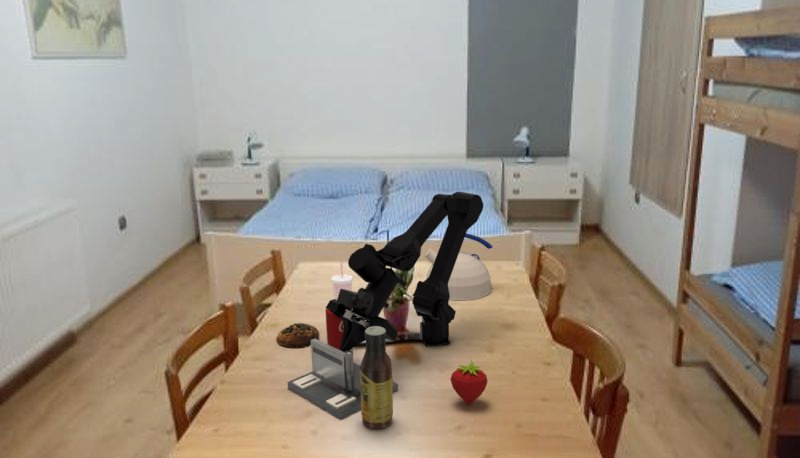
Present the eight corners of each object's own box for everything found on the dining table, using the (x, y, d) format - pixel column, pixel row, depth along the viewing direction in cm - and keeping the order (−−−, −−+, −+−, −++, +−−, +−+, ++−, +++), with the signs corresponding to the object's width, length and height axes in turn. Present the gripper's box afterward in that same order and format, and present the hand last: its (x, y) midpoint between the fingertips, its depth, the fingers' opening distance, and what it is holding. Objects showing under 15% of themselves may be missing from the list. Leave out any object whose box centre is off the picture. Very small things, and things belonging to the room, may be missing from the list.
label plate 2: (344, 393, 135) (344, 391, 134) (356, 399, 132) (356, 397, 132) (325, 402, 131) (325, 400, 131) (337, 409, 129) (337, 407, 129)
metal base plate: (344, 363, 151) (343, 354, 150) (398, 390, 139) (397, 380, 138) (287, 388, 140) (287, 378, 140) (340, 419, 128) (340, 409, 127)
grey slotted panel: (355, 388, 134) (354, 352, 132) (349, 391, 133) (348, 354, 131) (317, 368, 143) (315, 333, 141) (311, 370, 142) (309, 336, 140)
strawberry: (451, 395, 136) (451, 351, 134) (487, 397, 135) (488, 353, 132) (449, 409, 131) (449, 365, 128) (486, 412, 129) (487, 367, 127)
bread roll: (307, 351, 158) (304, 331, 157) (269, 350, 162) (265, 331, 161) (328, 334, 168) (325, 316, 167) (291, 334, 172) (288, 316, 171)
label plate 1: (311, 375, 142) (311, 373, 142) (321, 381, 140) (321, 379, 140) (292, 383, 139) (292, 381, 139) (302, 389, 137) (302, 387, 136)
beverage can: (349, 355, 155) (347, 309, 152) (324, 353, 156) (321, 307, 153) (356, 344, 161) (354, 299, 158) (331, 342, 162) (329, 298, 159)
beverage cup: (357, 308, 184) (356, 261, 180) (339, 313, 181) (337, 265, 177) (347, 301, 189) (345, 256, 185) (328, 306, 186) (326, 260, 182)
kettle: (427, 277, 209) (427, 223, 204) (491, 279, 206) (493, 224, 202) (420, 299, 190) (420, 241, 185) (491, 302, 187) (493, 242, 182)
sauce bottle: (361, 414, 130) (357, 322, 124) (392, 412, 130) (390, 321, 125) (362, 432, 123) (358, 337, 118) (394, 430, 124) (392, 335, 119)
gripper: (330, 265, 146) (293, 324, 141) (387, 284, 133) (348, 350, 128) (357, 289, 153) (323, 346, 148) (414, 309, 140) (378, 372, 136)
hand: (341, 353), depth 140 cm, fingers closed
